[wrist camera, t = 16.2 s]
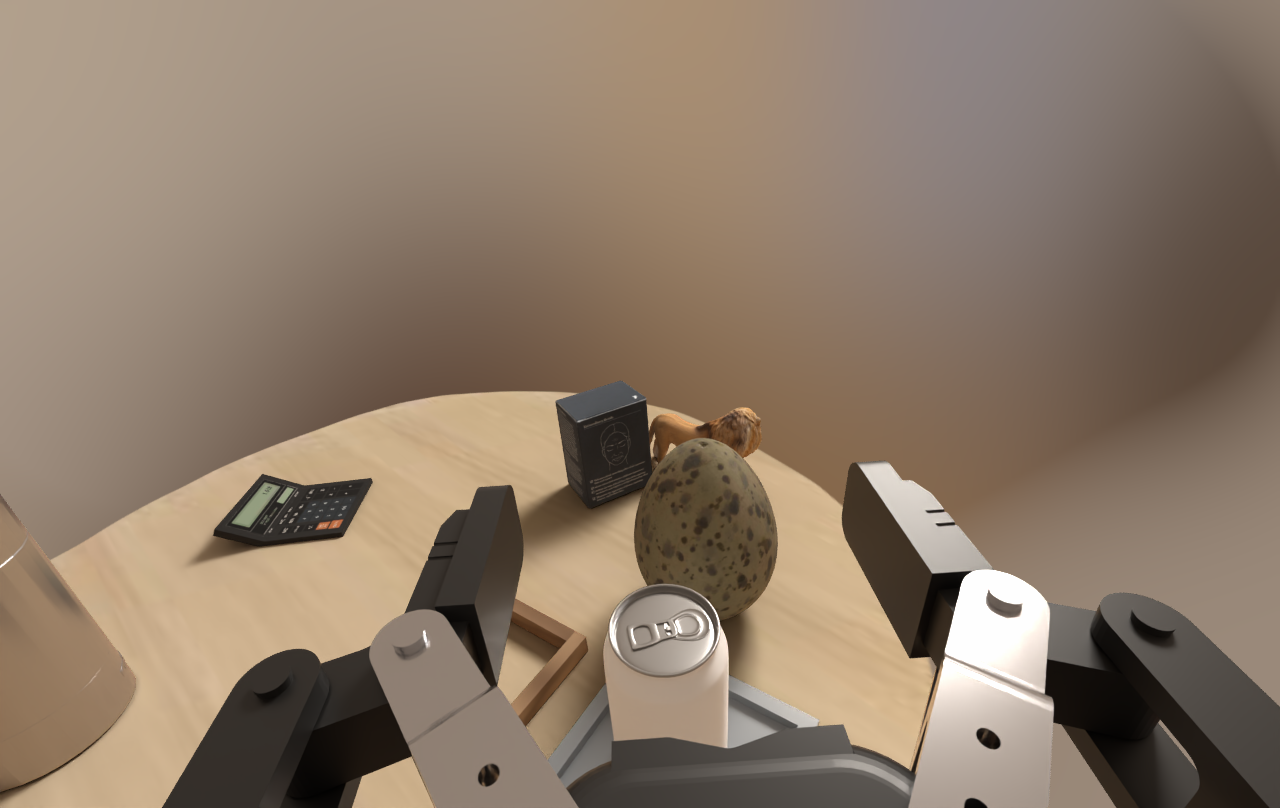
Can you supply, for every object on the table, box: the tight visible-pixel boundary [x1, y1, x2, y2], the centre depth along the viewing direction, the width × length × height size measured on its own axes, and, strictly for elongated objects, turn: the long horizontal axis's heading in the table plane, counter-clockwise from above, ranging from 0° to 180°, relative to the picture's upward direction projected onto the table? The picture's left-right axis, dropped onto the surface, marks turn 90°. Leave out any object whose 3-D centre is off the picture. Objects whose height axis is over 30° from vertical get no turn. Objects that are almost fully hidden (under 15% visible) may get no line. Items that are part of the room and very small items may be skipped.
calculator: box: [213, 474, 373, 546], centre depth 58 cm, size 9×12×3 cm
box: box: [556, 381, 652, 508], centre depth 58 cm, size 8×6×11 cm
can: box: [603, 584, 729, 748], centre depth 30 cm, size 6×6×12 cm
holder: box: [511, 599, 588, 726], centre depth 40 cm, size 10×10×2 cm
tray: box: [548, 675, 819, 788], centre depth 33 cm, size 13×13×2 cm
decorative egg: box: [634, 438, 778, 621], centre depth 42 cm, size 11×11×15 cm
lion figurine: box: [649, 407, 762, 464], centre depth 59 cm, size 15×5×9 cm, turn 65°
